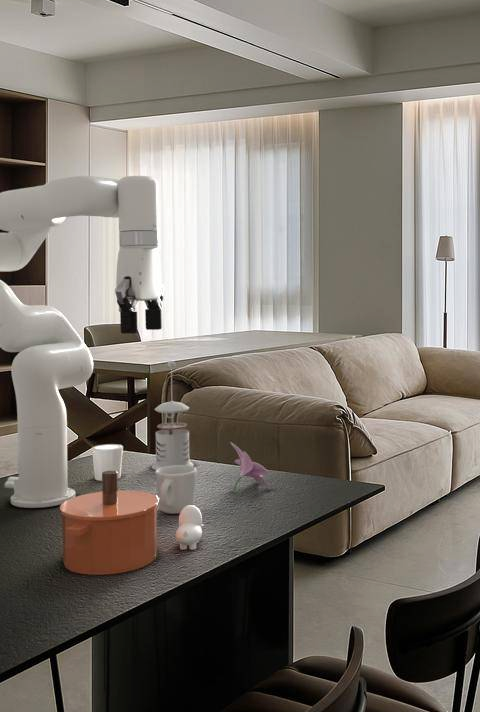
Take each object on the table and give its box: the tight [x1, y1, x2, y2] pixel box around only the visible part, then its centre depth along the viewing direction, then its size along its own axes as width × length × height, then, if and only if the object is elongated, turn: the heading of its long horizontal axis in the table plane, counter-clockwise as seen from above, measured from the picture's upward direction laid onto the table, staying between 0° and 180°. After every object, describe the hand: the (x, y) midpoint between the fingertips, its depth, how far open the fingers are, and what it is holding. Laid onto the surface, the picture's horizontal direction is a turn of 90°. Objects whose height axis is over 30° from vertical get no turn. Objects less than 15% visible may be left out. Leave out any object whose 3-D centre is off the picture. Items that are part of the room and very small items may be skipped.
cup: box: [154, 465, 198, 515], centre depth 165 cm, size 11×8×8 cm
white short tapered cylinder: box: [91, 443, 124, 482], centre depth 193 cm, size 7×7×7 cm
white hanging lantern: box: [151, 360, 194, 471], centre depth 204 cm, size 10×12×25 cm
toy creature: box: [175, 505, 205, 551], centre depth 146 cm, size 5×8×6 cm, turn 0°
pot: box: [61, 506, 158, 576], centre depth 139 cm, size 15×20×8 cm
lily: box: [229, 441, 271, 493], centre depth 181 cm, size 12×12×10 cm
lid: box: [59, 471, 159, 521], centre depth 139 cm, size 16×16×6 cm
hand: (141, 331), depth 163 cm, fingers open, 9 cm apart
